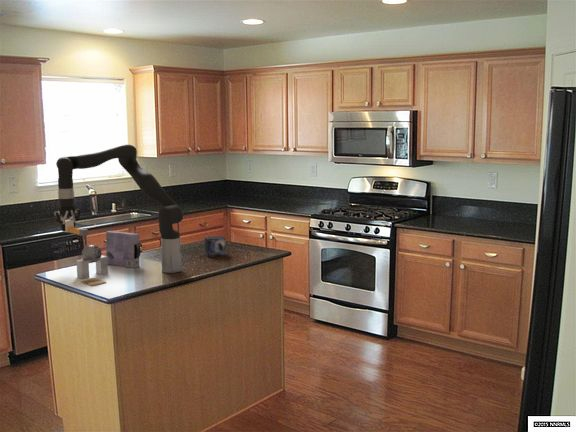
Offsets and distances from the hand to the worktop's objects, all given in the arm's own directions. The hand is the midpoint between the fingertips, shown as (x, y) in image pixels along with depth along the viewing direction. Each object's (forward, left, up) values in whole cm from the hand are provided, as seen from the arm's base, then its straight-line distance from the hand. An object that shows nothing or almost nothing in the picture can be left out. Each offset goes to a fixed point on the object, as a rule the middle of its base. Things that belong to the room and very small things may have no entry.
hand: (68, 230), depth 300 cm
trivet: (-32, +7, -20) cm, 39 cm away
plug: (-7, 0, -1) cm, 7 cm away
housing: (-21, 0, -20) cm, 29 cm away
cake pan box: (-16, -21, -20) cm, 33 cm away
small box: (-35, -68, -20) cm, 79 cm away
